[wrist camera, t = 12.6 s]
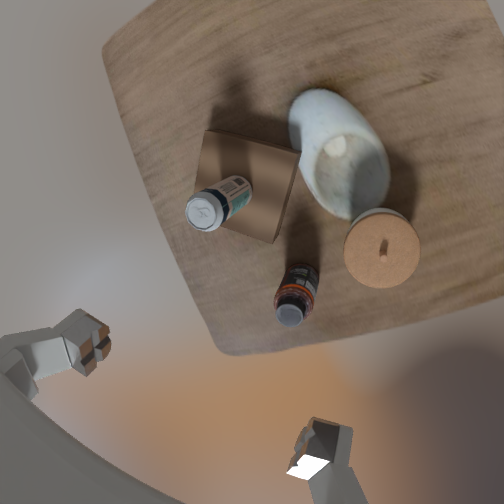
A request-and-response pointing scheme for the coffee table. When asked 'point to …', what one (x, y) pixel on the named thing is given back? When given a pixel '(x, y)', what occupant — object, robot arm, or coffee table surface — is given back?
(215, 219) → the beer can
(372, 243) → the lidded jar
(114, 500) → the robot arm
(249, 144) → the walnut block
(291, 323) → the supplement bottle
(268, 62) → the coffee table surface
